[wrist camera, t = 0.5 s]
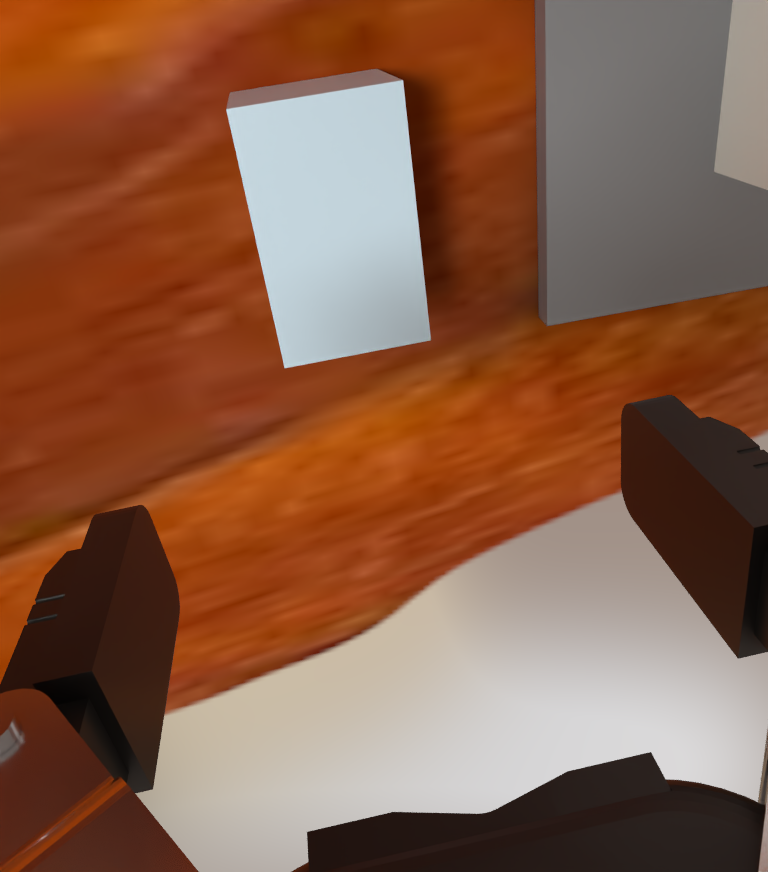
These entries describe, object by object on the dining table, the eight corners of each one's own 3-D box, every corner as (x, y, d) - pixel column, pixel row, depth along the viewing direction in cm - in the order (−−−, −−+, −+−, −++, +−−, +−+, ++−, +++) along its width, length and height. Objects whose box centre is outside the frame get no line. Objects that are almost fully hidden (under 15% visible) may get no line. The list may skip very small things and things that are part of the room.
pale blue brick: (229, 92, 24) (226, 109, 20) (376, 68, 25) (402, 80, 20) (279, 314, 28) (284, 367, 24) (403, 291, 29) (431, 340, 25)
